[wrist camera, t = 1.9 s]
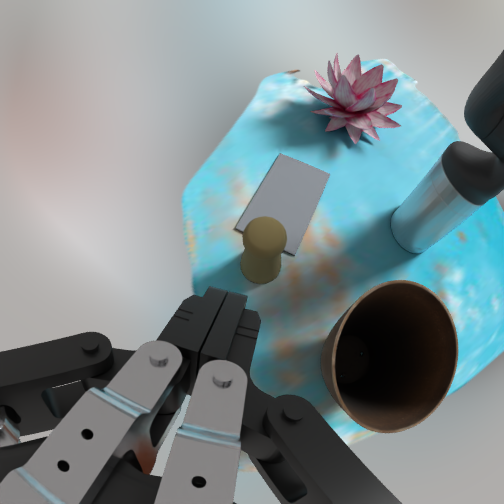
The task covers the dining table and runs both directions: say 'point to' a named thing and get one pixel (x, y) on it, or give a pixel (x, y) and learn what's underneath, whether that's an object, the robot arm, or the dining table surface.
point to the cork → (263, 249)
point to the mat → (288, 198)
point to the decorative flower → (357, 99)
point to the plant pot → (391, 356)
